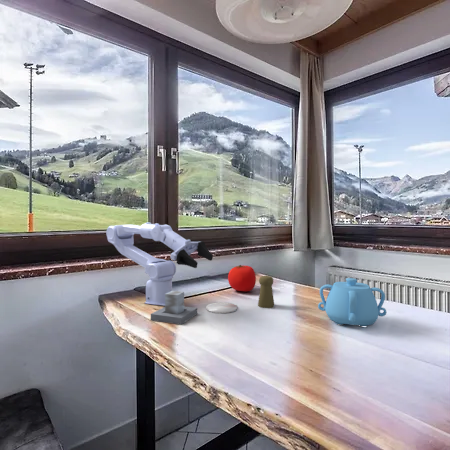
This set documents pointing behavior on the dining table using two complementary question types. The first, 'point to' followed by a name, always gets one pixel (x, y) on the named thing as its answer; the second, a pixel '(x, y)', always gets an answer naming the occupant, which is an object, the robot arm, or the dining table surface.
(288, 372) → the dining table surface
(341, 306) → the decorative pot
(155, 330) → the dining table surface
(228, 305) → the ceramic coaster
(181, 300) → the grey-blue peg
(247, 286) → the tomato
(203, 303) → the dining table surface
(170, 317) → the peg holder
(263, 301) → the cork
